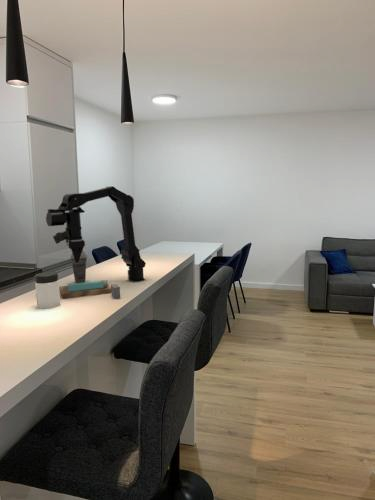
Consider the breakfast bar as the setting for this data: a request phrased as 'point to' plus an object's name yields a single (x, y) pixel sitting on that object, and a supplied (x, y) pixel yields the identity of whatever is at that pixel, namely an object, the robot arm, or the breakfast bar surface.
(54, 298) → the jar
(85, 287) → the leg
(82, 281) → the beverage cup
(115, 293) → the post
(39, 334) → the breakfast bar surface
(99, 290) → the board
